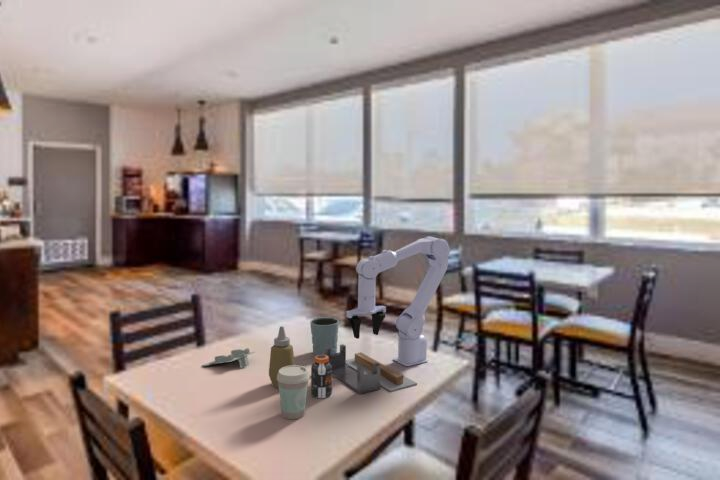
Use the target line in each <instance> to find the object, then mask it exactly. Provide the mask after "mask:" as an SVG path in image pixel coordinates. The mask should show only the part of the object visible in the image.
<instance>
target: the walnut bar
mask: <svg viewBox="0 0 720 480" xmlns="http://www.w3.org/2000/svg"><path fill="white" fill-rule="evenodd" d="M354 358H355V361H356V362H358V363H360V364H361V365H363V366H365V367H366V368H368V369H370V370H372V371H374V364H375V363H378V364H380V376H382V377H384V378H385V379H387V380H389V381H390V382H392V383H394V384H395V385H399V384H403V376H404V375H403V374H402V373H400V372H398V371H396V370H394V369H392V368H391V367H389V366H387V365H386V364H383V363H381V362H379V361H377V360H376V359H374V358H372V357H370V356H368V355H366V354H365V353H363V352H361V351H360V352H355V353H354Z"/></svg>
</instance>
